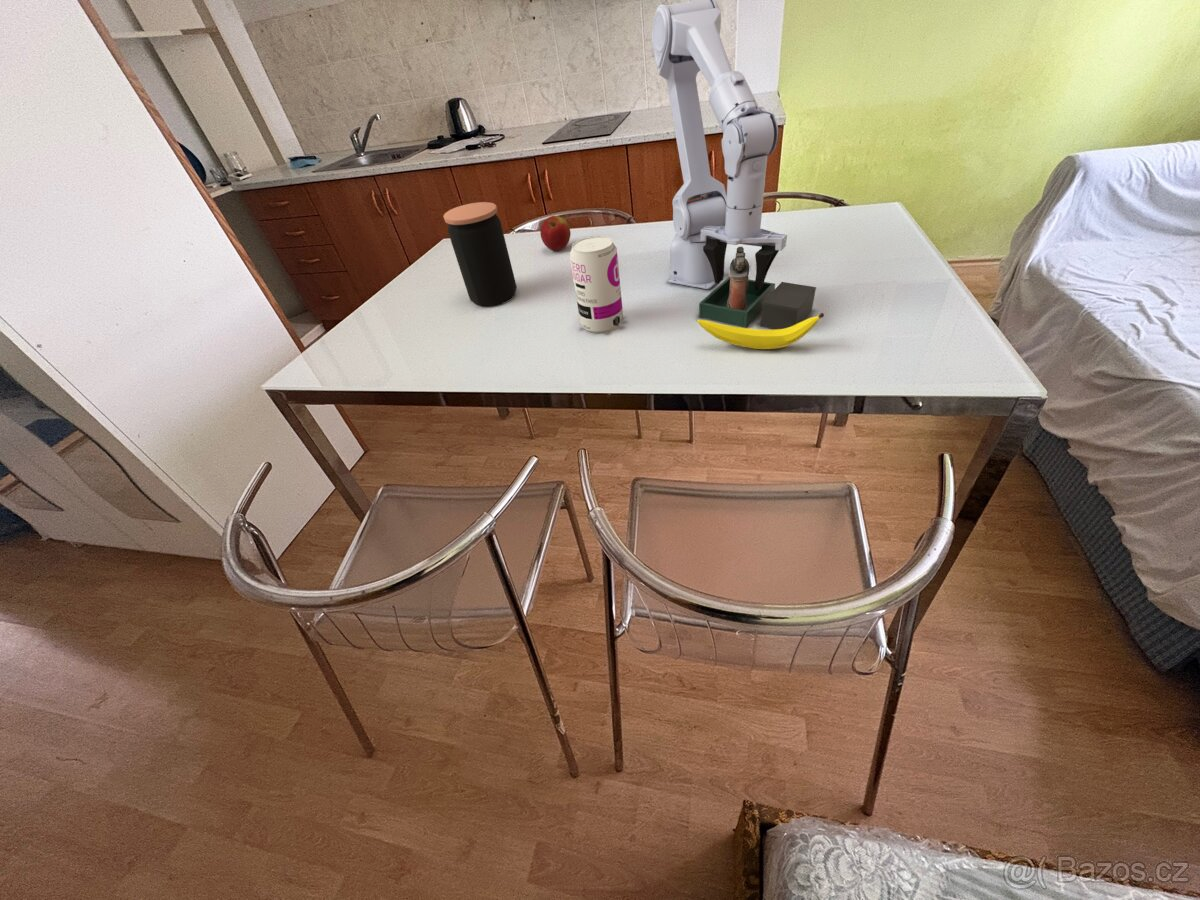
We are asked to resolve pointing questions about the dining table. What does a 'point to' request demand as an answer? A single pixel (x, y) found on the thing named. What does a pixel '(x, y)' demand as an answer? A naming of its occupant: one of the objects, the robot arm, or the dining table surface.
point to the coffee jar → (481, 253)
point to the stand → (787, 305)
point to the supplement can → (597, 283)
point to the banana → (759, 334)
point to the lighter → (738, 280)
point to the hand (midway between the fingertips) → (738, 284)
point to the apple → (555, 233)
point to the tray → (718, 310)
